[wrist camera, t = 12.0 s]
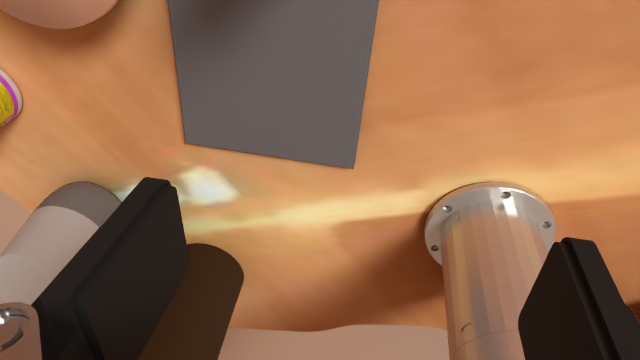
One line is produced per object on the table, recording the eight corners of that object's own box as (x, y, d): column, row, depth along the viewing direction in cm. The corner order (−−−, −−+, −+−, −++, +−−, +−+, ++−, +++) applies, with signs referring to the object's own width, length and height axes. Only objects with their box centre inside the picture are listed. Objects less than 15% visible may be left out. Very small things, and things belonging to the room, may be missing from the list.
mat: (354, 164, 44) (353, 169, 43) (188, 139, 45) (185, 143, 45) (381, -19, 34) (381, -17, 33) (167, -45, 35) (162, -43, 34)
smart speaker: (91, 161, 49) (-1, 251, 38) (151, 217, 53) (83, 314, 42) (45, 192, 53) (-50, 282, 42) (104, 242, 57) (31, 337, 46)
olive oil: (230, 235, 53) (123, 467, 33) (260, 294, 58) (184, 522, 39) (154, 242, 56) (13, 459, 36) (190, 298, 61) (85, 511, 42)
